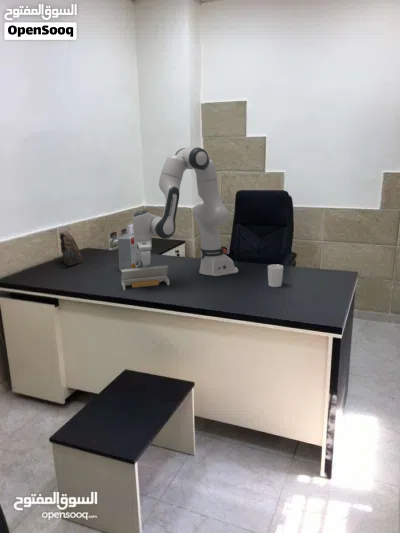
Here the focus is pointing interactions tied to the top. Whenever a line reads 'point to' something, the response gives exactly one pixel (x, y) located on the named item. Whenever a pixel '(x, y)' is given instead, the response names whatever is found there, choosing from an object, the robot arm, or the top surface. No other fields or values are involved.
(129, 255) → the hard drive box
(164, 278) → the duct
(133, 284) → the wooden block
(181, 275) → the top surface
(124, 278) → the panel
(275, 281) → the white cup
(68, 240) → the owl
